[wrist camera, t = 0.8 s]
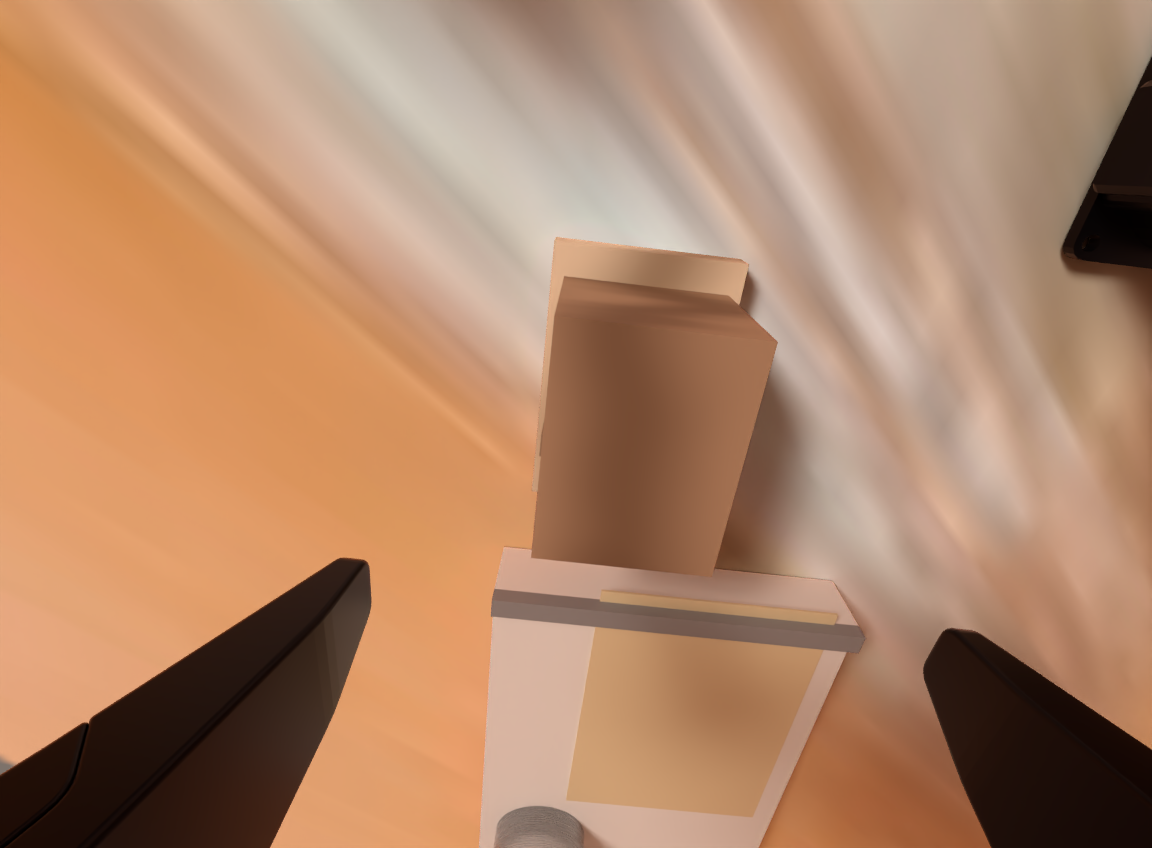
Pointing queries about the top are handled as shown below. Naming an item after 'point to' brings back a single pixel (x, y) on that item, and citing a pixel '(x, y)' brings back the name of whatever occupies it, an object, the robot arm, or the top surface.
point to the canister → (539, 829)
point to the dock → (654, 697)
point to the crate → (644, 406)
